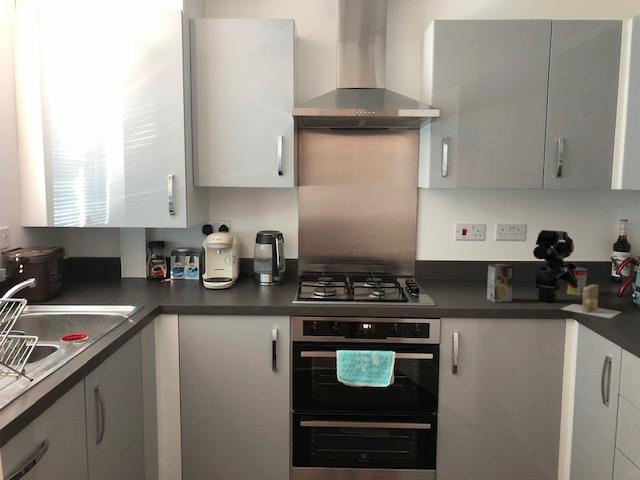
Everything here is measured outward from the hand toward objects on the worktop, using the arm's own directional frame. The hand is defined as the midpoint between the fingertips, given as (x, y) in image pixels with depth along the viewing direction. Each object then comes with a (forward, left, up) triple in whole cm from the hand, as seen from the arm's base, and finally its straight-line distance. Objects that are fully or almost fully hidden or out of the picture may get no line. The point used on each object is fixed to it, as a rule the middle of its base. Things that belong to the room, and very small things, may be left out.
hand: (576, 287), depth 219 cm
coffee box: (-29, -9, -10) cm, 32 cm away
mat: (+6, 0, -9) cm, 11 cm away
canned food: (-11, +31, -10) cm, 34 cm away
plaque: (+6, 0, -9) cm, 10 cm away
